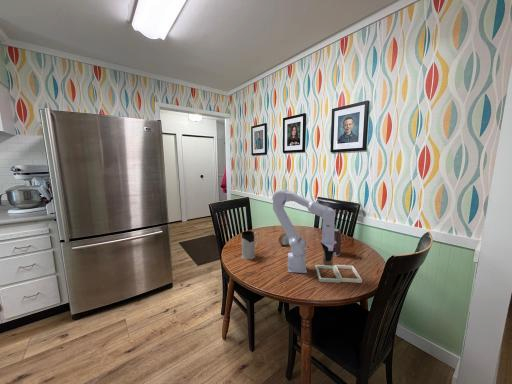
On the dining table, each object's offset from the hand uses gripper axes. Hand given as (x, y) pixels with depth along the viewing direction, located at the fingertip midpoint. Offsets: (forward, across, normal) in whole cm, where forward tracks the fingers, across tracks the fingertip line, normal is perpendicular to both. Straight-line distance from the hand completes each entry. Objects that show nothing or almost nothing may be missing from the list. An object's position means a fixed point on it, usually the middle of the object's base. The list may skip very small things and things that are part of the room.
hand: (327, 258), depth 104 cm
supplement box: (+9, +26, -8) cm, 29 cm away
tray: (+8, +1, -10) cm, 13 cm away
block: (+3, 0, 0) cm, 3 cm away
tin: (+9, +39, +19) cm, 44 cm away
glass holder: (+9, +19, +42) cm, 47 cm away
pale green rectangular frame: (+8, 0, 0) cm, 9 cm away
